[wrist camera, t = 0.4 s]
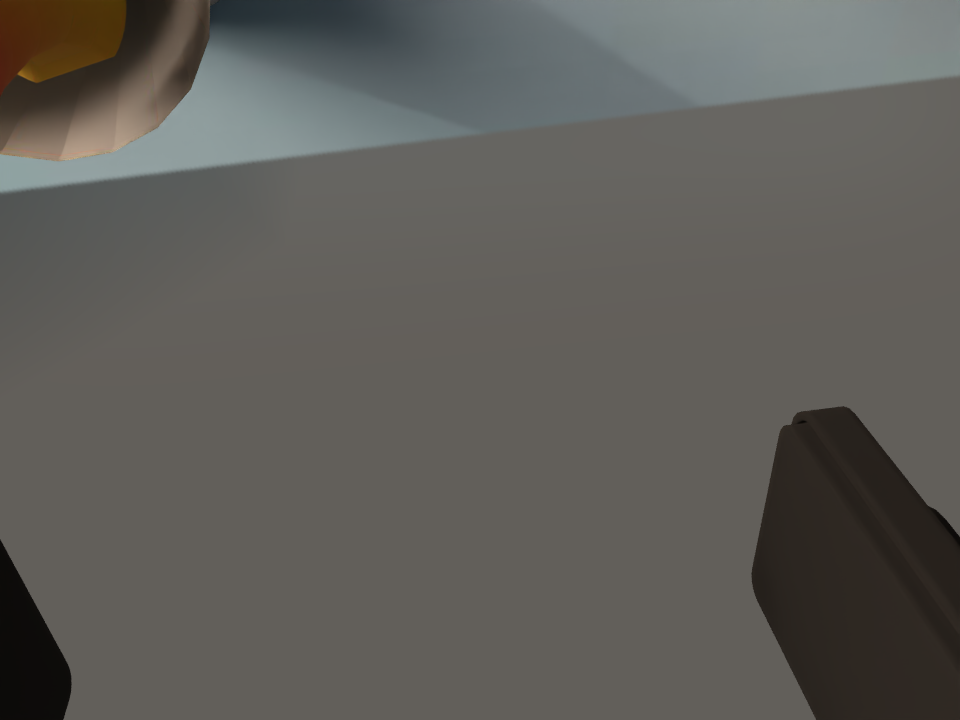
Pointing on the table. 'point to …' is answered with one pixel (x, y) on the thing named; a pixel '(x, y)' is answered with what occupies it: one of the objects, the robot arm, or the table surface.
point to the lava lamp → (93, 71)
